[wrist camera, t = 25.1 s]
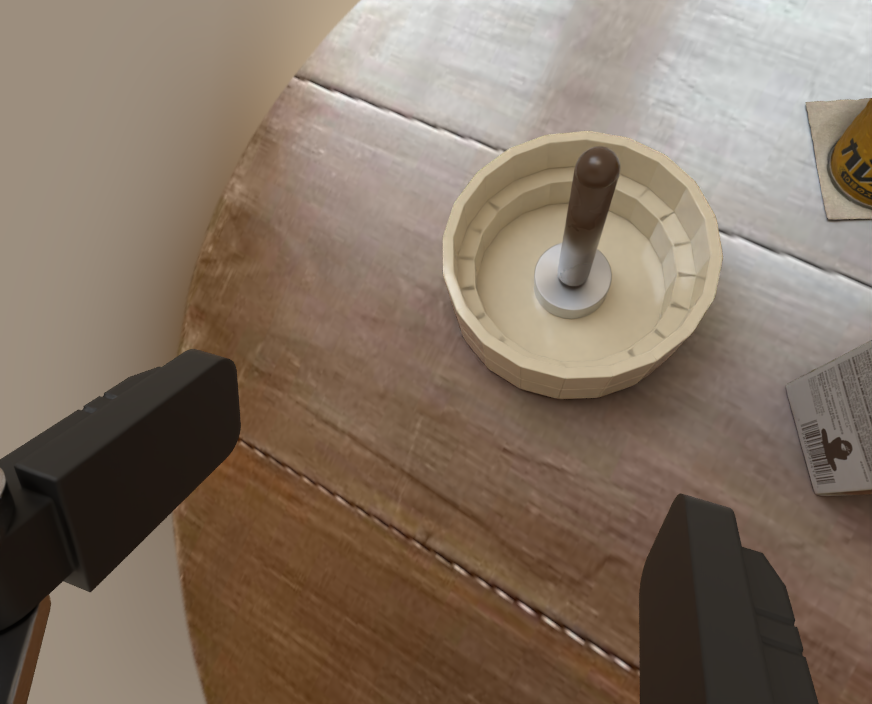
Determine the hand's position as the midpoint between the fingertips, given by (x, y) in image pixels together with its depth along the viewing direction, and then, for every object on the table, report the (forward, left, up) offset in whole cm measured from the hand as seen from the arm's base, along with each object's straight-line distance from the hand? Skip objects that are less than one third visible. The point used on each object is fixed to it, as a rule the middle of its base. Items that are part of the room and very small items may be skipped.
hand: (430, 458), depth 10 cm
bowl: (+1, +14, -23) cm, 26 cm away
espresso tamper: (+1, +14, -22) cm, 26 cm away
